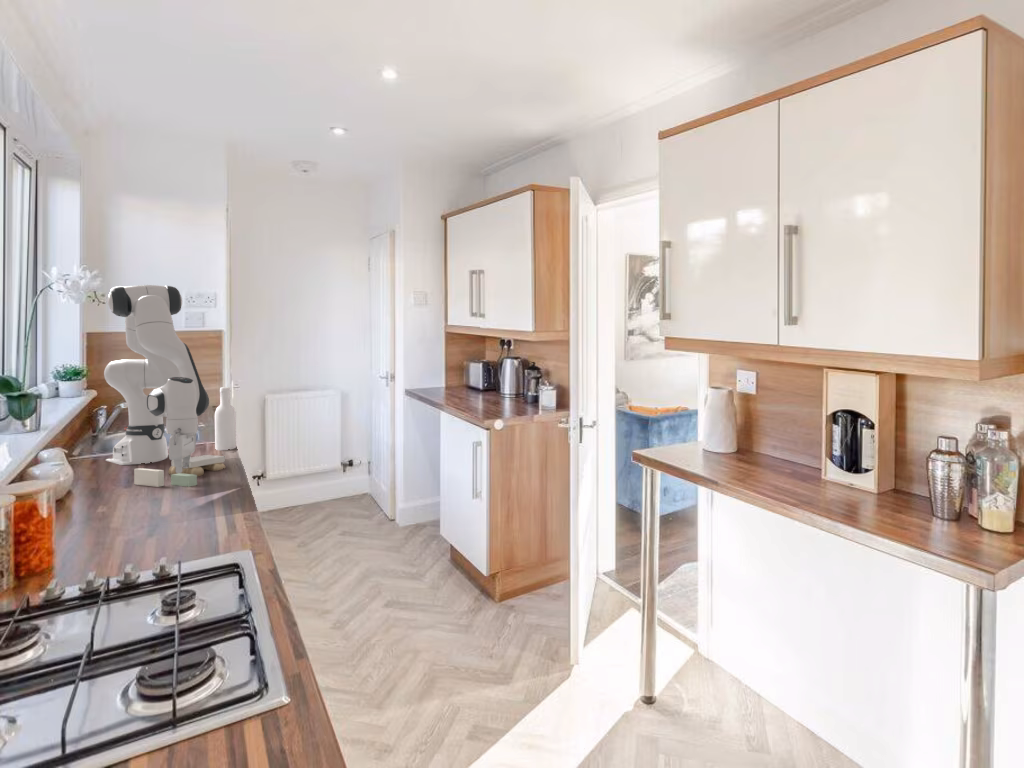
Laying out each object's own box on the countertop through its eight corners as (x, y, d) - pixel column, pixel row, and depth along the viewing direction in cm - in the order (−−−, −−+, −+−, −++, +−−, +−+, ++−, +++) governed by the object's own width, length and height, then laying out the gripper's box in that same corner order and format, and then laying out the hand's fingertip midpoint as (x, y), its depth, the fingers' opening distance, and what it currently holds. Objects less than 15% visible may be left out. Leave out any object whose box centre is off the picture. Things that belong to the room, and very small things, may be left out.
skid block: (171, 485, 189) (170, 474, 189) (179, 483, 192) (179, 473, 192) (188, 487, 186) (188, 476, 186) (197, 485, 189) (196, 474, 189)
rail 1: (168, 477, 202) (168, 466, 202) (178, 475, 205) (178, 464, 205) (193, 480, 197) (193, 468, 197) (204, 478, 201) (203, 466, 201)
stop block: (134, 484, 190) (134, 469, 190) (140, 483, 192) (140, 468, 192) (158, 486, 186) (158, 471, 186) (164, 485, 188) (163, 470, 188)
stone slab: (171, 466, 201) (171, 460, 201) (206, 460, 214) (206, 454, 214) (190, 467, 198) (190, 461, 198) (224, 461, 211) (224, 456, 211)
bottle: (215, 462, 235) (214, 387, 234) (214, 459, 242) (213, 387, 241) (237, 461, 238) (236, 387, 237) (236, 458, 245) (235, 387, 244)
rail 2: (191, 473, 210) (191, 462, 210) (201, 471, 214) (200, 460, 214) (216, 475, 206) (216, 464, 205) (225, 473, 209) (225, 462, 209)
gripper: (185, 429, 179) (186, 474, 180) (199, 424, 199) (199, 465, 199) (162, 430, 177) (163, 476, 178) (178, 425, 197) (179, 466, 197)
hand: (182, 470), depth 189 cm, fingers open, 8 cm apart
